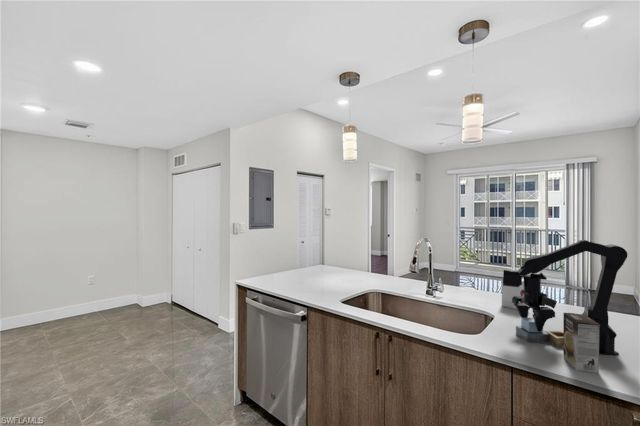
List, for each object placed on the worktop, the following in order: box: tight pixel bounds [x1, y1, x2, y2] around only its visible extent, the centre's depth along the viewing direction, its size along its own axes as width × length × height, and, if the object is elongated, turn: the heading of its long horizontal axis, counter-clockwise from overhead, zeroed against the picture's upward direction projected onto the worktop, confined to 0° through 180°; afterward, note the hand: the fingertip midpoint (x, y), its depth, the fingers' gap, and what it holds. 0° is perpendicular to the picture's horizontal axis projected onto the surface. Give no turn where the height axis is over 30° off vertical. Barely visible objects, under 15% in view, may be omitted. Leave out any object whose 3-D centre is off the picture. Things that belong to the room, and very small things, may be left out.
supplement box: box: [501, 278, 524, 311], centre depth 162 cm, size 9×9×15 cm
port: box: [515, 325, 550, 343], centre depth 123 cm, size 8×8×3 cm
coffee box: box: [562, 312, 600, 374], centre depth 102 cm, size 9×6×16 cm
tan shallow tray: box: [543, 330, 564, 348], centre depth 119 cm, size 7×7×3 cm
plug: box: [520, 316, 544, 332], centre depth 123 cm, size 5×6×8 cm
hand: (532, 326), depth 123 cm, fingers open, 9 cm apart
